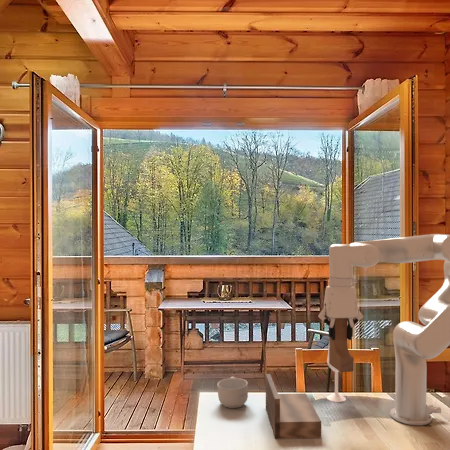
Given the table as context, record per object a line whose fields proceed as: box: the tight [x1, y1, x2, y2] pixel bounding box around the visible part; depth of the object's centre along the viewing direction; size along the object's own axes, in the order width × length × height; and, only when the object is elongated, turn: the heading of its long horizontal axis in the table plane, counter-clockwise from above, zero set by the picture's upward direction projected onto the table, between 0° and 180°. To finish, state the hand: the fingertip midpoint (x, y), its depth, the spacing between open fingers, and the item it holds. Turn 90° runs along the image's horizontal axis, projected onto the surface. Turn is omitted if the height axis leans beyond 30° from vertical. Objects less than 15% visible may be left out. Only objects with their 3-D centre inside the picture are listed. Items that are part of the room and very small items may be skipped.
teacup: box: [216, 376, 249, 409], centre depth 164 cm, size 14×11×8 cm
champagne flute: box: [326, 347, 347, 403], centre depth 168 cm, size 7×7×24 cm
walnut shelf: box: [265, 373, 322, 440], centre depth 149 cm, size 14×22×12 cm, turn 2°
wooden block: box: [328, 318, 354, 373], centre depth 148 cm, size 9×4×18 cm, turn 11°
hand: (340, 338), depth 148 cm, fingers closed on wooden block, 4 cm apart
